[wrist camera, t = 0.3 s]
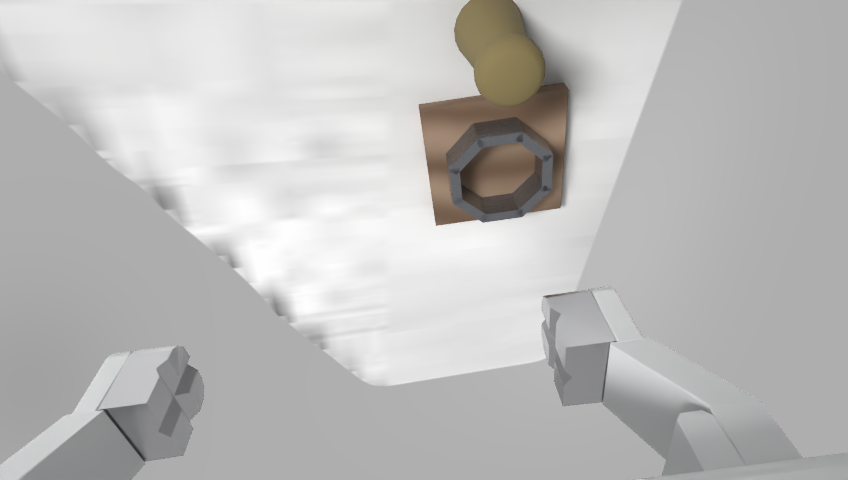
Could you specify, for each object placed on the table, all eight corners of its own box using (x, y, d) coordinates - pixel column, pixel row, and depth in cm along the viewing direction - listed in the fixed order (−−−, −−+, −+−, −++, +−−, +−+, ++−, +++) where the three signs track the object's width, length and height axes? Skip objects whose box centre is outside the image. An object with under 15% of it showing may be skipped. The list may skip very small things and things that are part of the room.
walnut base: (418, 104, 48) (419, 111, 47) (563, 82, 48) (568, 89, 47) (434, 217, 57) (436, 225, 56) (556, 199, 57) (560, 207, 56)
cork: (534, 6, 43) (571, 53, 35) (505, 71, 47) (532, 129, 38) (469, -18, 41) (492, 26, 33) (444, 52, 45) (459, 107, 37)
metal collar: (442, 127, 48) (445, 143, 46) (546, 112, 48) (554, 127, 46) (451, 209, 55) (455, 226, 53) (543, 196, 55) (550, 213, 52)
